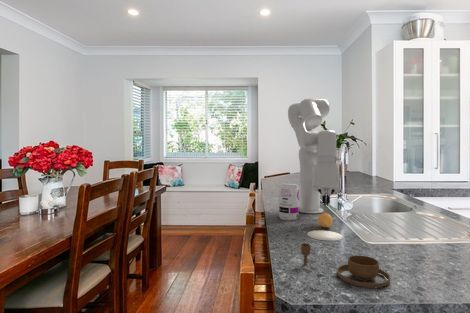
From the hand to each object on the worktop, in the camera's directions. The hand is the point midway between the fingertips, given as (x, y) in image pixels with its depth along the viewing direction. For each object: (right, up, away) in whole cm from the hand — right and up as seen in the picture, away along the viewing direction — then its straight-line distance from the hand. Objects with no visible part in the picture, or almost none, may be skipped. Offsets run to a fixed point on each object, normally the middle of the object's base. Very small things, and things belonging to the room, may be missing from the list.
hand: (326, 205), depth 131 cm
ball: (-3, -5, -7) cm, 9 cm away
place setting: (-9, -10, -51) cm, 52 cm away
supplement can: (-14, -7, +6) cm, 17 cm away
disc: (-6, -8, -19) cm, 21 cm away
